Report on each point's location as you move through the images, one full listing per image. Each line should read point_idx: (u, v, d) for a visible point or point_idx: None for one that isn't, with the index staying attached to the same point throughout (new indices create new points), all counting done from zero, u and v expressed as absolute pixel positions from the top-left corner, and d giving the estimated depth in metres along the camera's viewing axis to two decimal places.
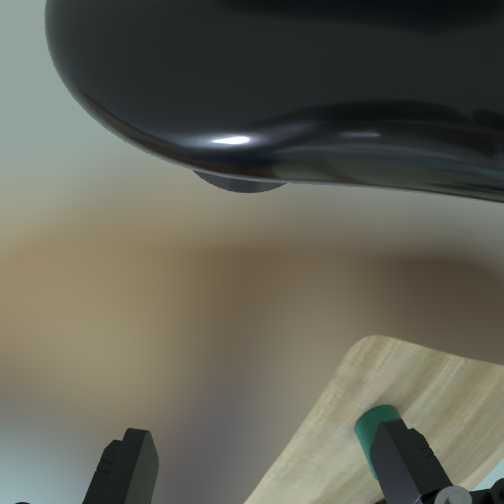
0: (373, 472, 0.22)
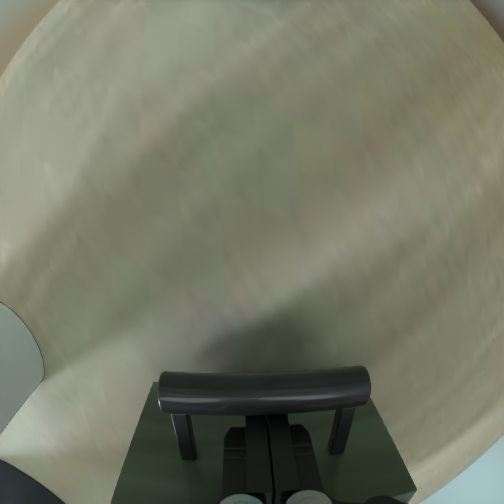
0: None
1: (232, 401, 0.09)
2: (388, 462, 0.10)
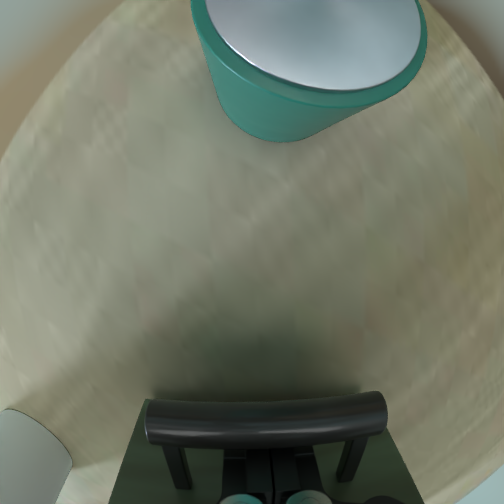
0: None
1: (230, 436, 0.07)
2: (401, 489, 0.08)
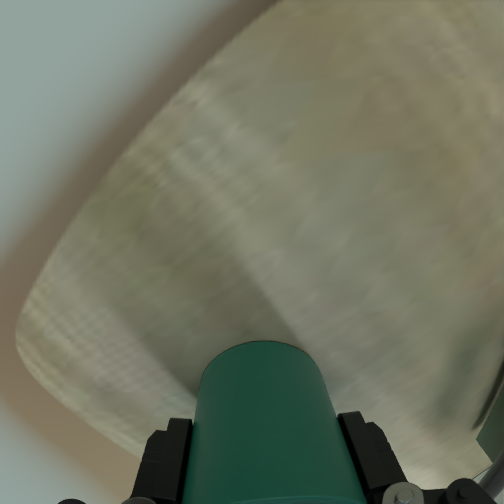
0: None
1: None
2: None
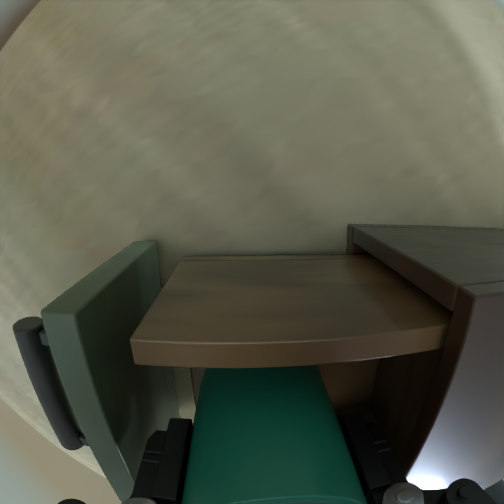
0: None
1: (48, 414, 0.11)
2: None
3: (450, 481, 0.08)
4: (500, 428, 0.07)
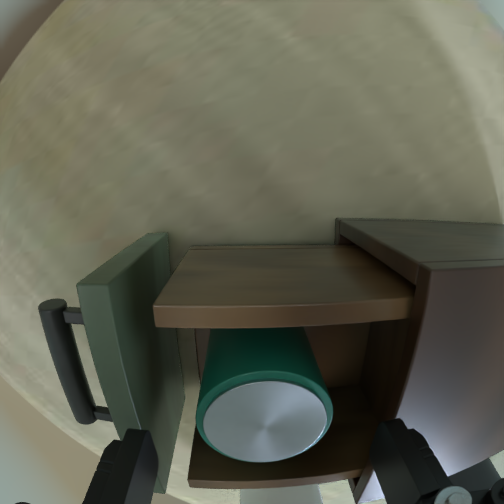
0: None
1: (66, 389, 0.13)
2: None
3: None
4: (475, 400, 0.10)
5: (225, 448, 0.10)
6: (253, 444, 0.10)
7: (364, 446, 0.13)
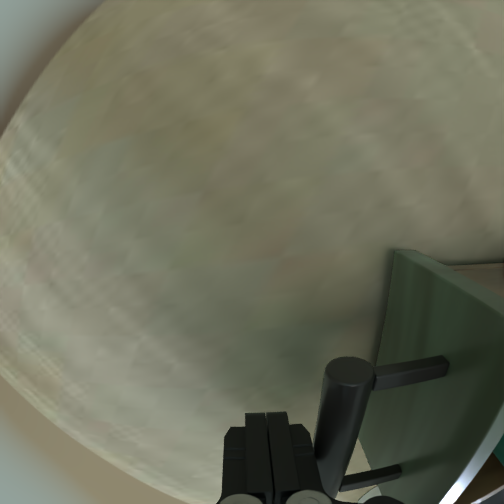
0: None
1: (325, 476, 0.09)
2: (483, 329, 0.07)
3: None
4: None
5: None
6: None
7: None
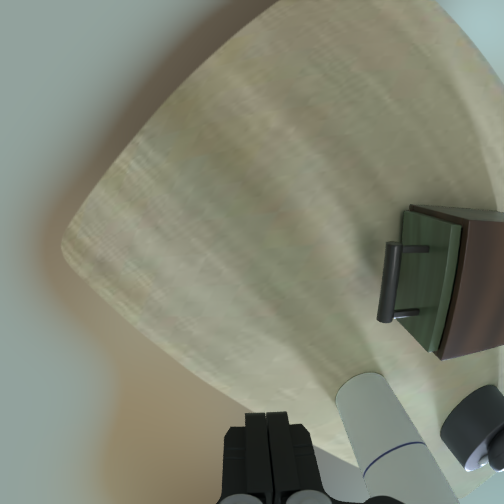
0: None
1: (389, 297, 0.25)
2: (438, 228, 0.23)
3: (475, 320, 0.22)
4: (491, 289, 0.21)
5: None
6: None
7: None
